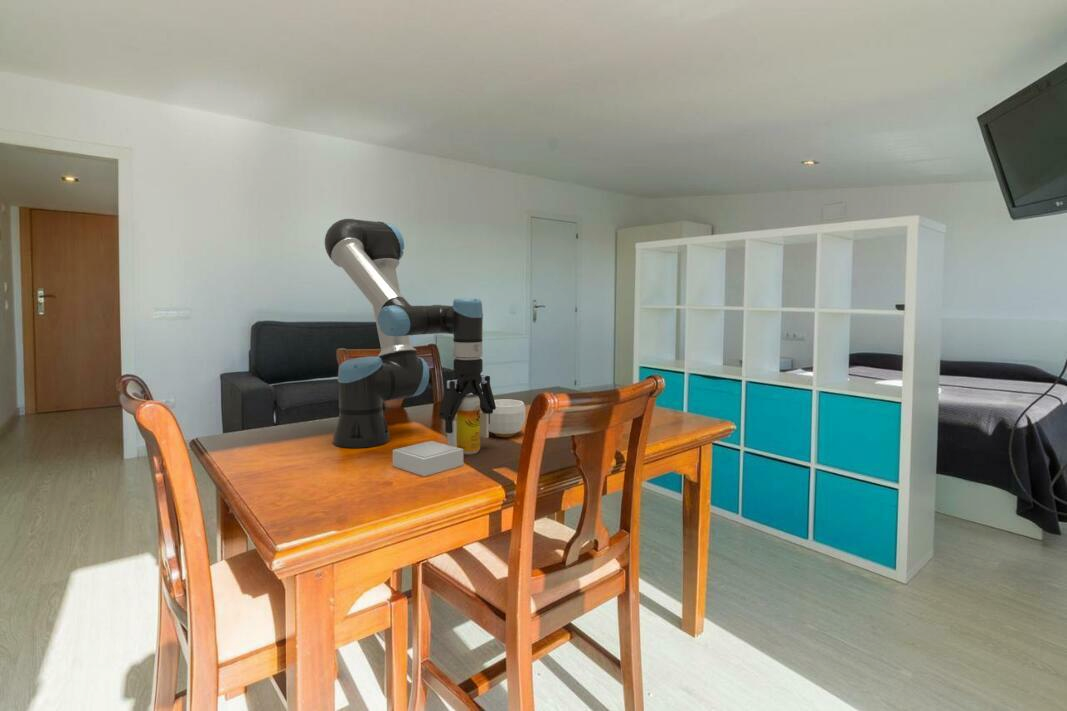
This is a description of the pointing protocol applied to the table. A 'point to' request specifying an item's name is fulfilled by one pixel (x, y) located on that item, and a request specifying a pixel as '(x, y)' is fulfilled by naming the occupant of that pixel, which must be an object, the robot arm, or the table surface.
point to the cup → (507, 417)
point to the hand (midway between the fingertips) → (468, 440)
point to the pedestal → (427, 458)
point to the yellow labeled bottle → (469, 424)
